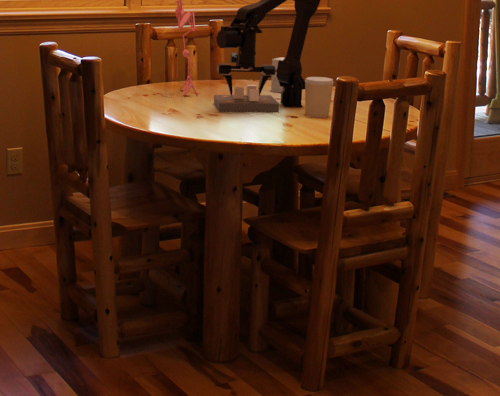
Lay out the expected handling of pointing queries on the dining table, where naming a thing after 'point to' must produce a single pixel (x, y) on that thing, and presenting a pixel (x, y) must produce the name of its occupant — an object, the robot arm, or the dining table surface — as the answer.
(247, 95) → the slider
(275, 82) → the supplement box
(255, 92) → the slider
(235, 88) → the slider
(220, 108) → the switch unit
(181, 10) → the figurine
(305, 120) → the dining table surface
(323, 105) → the coffee cup
